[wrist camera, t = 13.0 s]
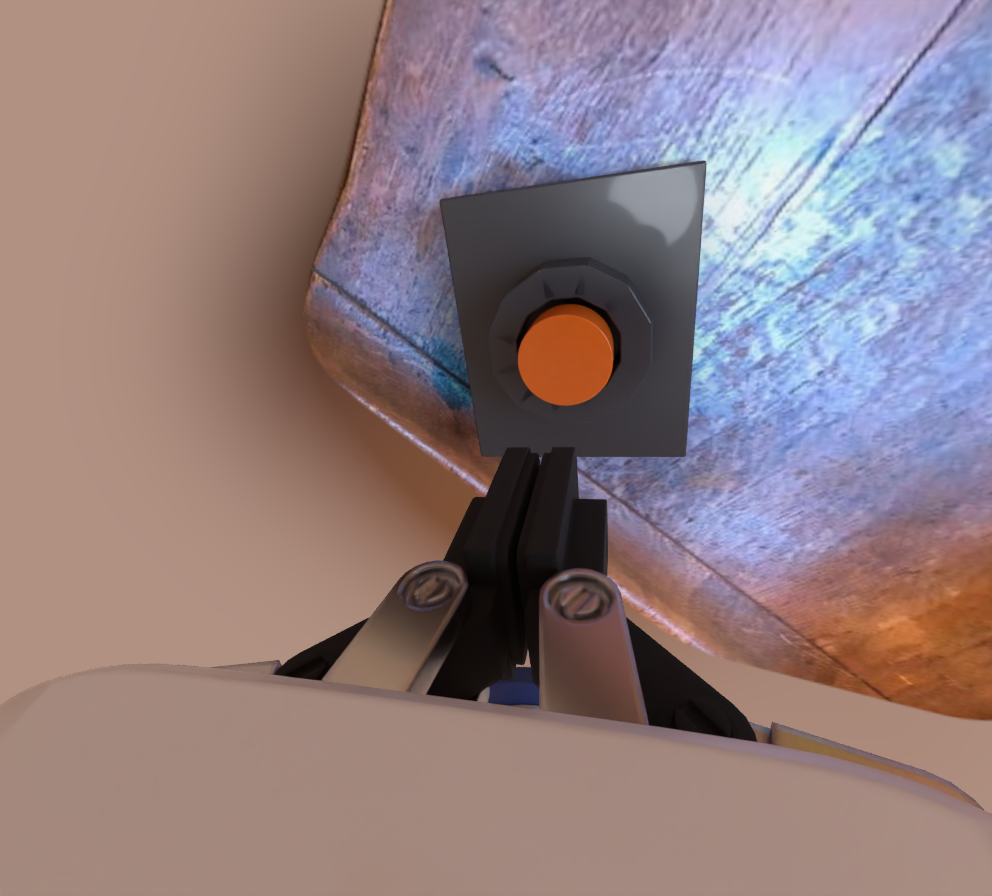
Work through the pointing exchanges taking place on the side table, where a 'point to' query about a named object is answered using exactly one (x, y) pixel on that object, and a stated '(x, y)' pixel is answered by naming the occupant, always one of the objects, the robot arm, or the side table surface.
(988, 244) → the side table surface
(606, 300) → the button block
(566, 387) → the button
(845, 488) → the side table surface
